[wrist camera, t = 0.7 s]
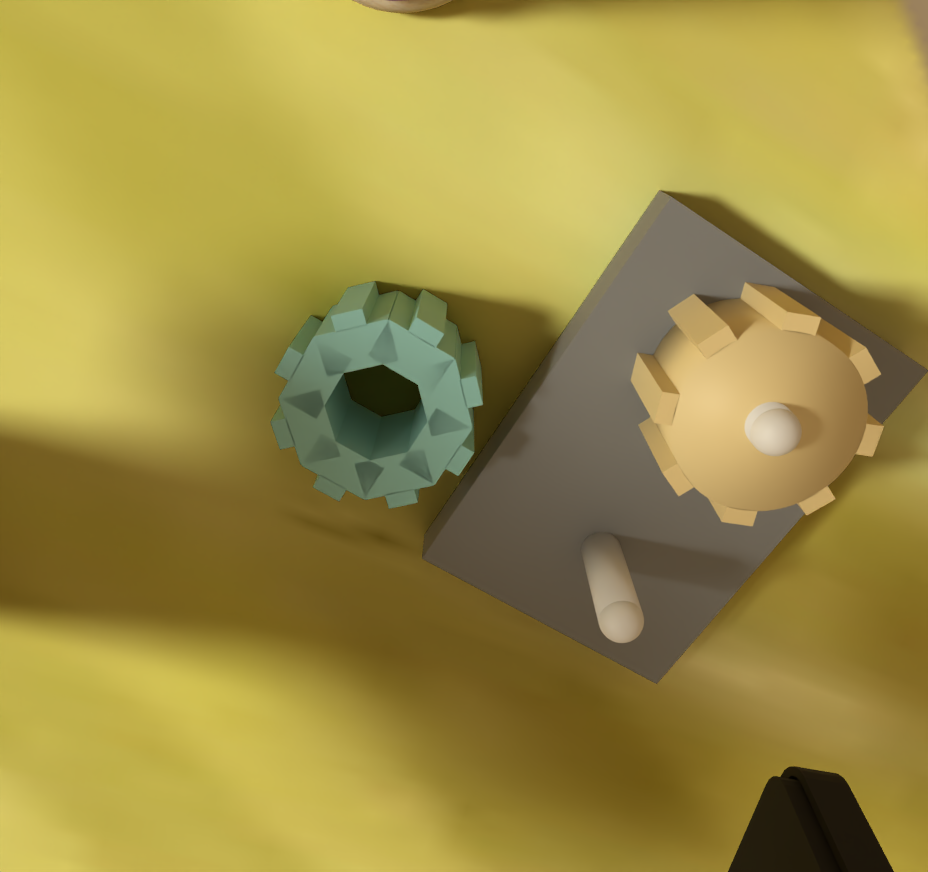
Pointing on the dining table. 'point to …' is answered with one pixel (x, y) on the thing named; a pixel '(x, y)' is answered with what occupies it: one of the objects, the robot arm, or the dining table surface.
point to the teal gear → (362, 431)
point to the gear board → (613, 463)
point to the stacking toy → (402, 5)
